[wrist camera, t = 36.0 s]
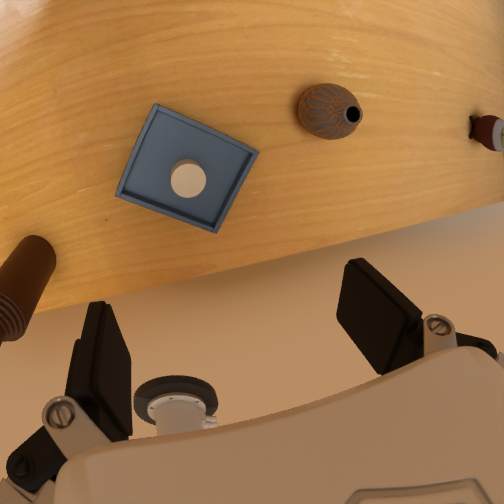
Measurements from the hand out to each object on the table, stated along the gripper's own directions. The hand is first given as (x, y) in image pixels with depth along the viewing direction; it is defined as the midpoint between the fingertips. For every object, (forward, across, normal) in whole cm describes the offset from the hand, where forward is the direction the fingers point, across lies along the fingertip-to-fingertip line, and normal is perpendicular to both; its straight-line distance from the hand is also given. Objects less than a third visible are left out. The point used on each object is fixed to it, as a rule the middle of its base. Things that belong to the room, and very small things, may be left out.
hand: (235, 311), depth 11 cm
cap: (+26, 0, +1) cm, 26 cm away
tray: (+26, 0, 0) cm, 26 cm away
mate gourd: (+26, -54, -8) cm, 61 cm away
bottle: (+26, +22, +8) cm, 35 cm away
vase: (+26, -16, -7) cm, 32 cm away
